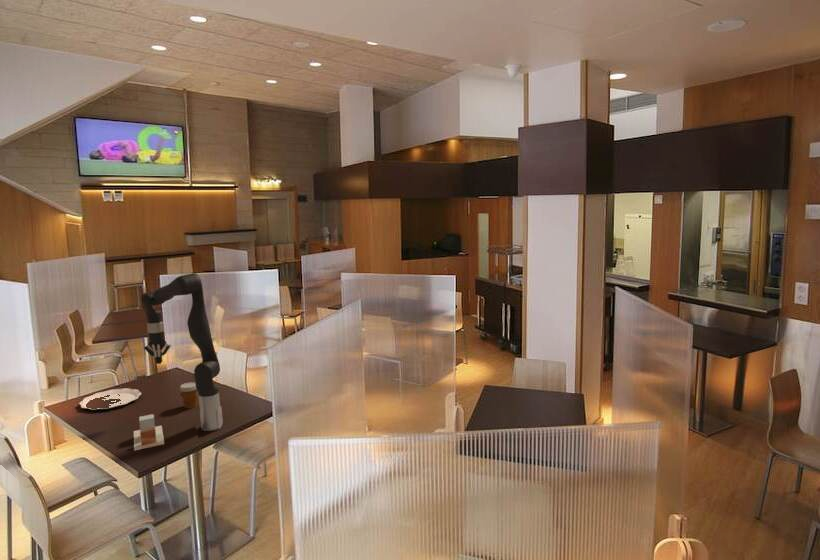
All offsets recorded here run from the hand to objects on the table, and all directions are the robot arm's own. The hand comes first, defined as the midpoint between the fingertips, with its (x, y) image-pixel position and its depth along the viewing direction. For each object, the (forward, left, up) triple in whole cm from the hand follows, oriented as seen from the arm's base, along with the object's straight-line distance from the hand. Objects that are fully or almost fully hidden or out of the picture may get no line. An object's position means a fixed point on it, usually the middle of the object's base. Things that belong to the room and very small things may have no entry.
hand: (159, 363), depth 263 cm
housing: (-5, +31, -27) cm, 41 cm away
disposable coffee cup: (-11, -8, -27) cm, 30 cm away
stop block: (-8, +37, -26) cm, 45 cm away
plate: (+36, -20, -28) cm, 50 cm away
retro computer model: (-4, +30, -25) cm, 39 cm away
